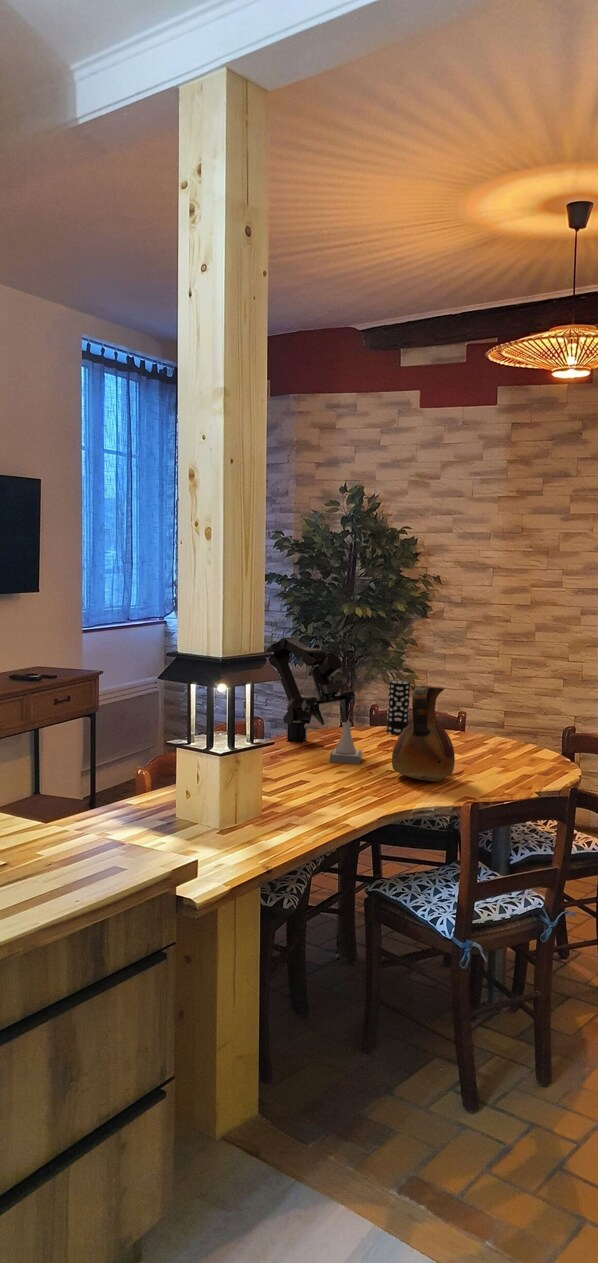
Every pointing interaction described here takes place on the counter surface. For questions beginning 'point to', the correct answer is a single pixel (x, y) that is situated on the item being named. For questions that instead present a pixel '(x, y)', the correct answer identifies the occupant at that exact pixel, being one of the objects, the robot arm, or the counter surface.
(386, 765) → the counter surface
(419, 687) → the ceramic pitcher
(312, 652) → the robot arm
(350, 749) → the flask
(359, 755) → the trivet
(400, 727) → the white-spotted black cylinder
